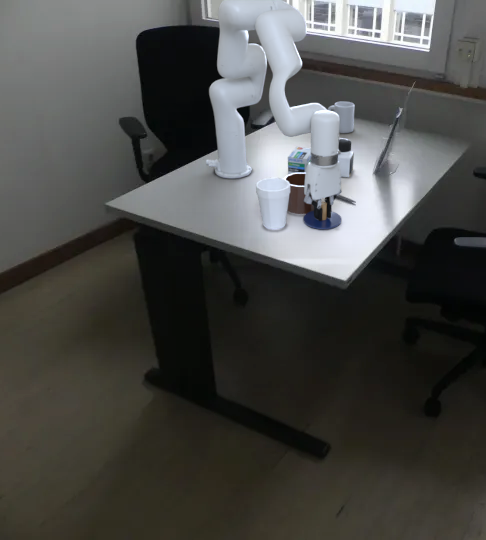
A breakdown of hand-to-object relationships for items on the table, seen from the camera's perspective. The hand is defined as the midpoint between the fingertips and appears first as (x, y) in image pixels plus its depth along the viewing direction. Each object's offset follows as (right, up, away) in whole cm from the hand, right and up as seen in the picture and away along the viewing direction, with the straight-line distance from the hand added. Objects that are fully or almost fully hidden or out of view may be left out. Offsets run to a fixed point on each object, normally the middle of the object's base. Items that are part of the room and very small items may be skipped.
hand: (322, 217), depth 155 cm
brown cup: (-7, +4, +9) cm, 12 cm away
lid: (0, -1, +1) cm, 1 cm away
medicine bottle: (+6, +19, +33) cm, 39 cm away
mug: (+7, +45, +73) cm, 86 cm away
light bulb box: (-7, +14, +25) cm, 29 cm away
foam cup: (-14, -3, -1) cm, 14 cm away
